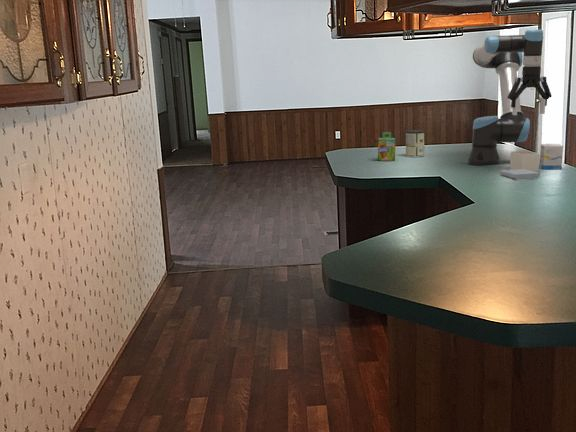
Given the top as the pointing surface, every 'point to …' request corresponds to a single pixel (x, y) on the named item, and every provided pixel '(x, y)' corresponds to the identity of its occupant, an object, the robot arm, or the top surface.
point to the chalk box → (386, 147)
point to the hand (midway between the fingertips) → (528, 114)
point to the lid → (520, 174)
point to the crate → (524, 160)
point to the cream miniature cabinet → (415, 143)
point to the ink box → (551, 157)
